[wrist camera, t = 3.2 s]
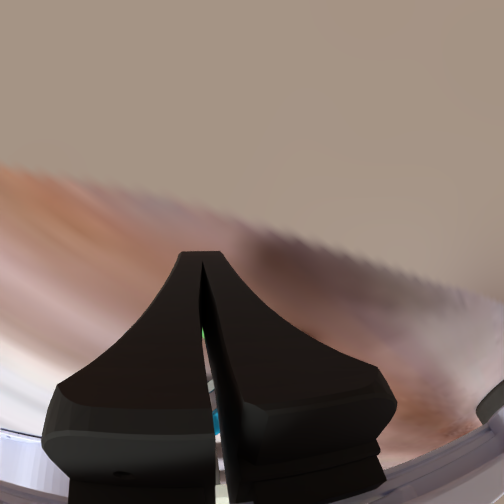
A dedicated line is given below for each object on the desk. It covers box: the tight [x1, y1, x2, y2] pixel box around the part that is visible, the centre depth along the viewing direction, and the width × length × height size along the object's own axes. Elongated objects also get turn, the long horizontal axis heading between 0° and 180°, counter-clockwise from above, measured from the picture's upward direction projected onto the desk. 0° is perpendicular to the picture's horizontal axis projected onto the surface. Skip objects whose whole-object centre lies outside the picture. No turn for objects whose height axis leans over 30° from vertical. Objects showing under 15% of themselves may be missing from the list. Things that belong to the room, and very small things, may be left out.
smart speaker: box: [476, 381, 504, 425], centre depth 33 cm, size 9×9×4 cm
